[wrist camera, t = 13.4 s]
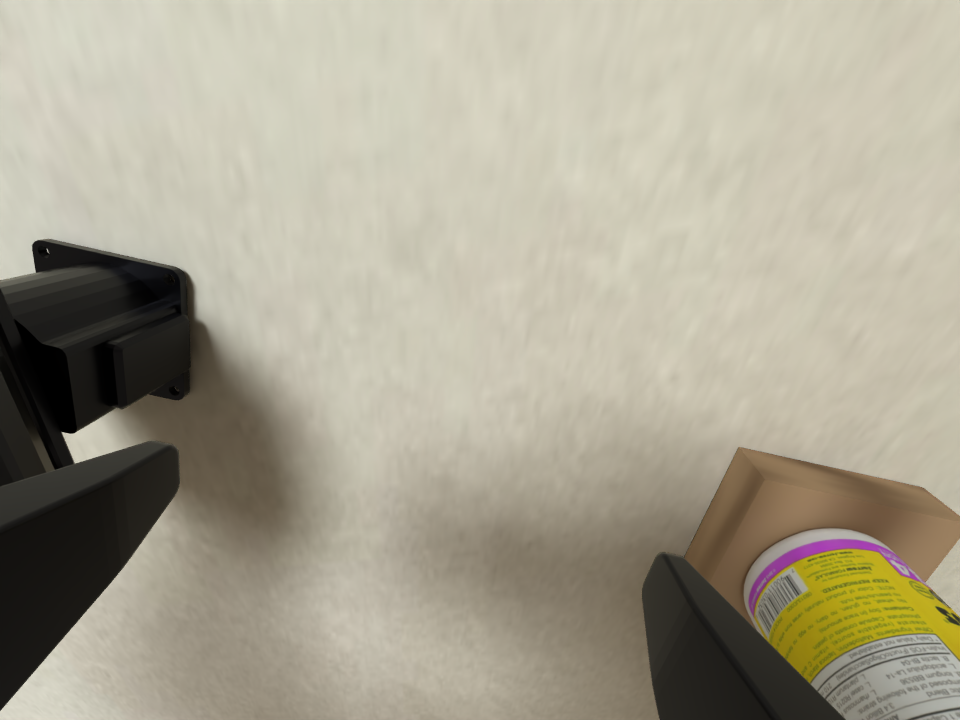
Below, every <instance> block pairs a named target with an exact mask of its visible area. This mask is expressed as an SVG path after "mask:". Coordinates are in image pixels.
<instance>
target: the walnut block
mask: <svg viewBox="0 0 960 720" xmlns="http://www.w3.org/2000/svg"><path fill="white" fill-rule="evenodd" d="M821 528H840V529H848V530H853V531H857V532H860V533H863V534H866V535H868V536H871V537H873V538H875V539H877V540H878V541H880V542H882V543H883V544H885V545H886V546H887V547H888V548H890V549H891V550H892V551H893V552H894V553H895V554H896V555H897V556H898V557H899V558H900V559H901V560H903V561H904V562H905V563H906V564H907V565H908V566H909V567H910V568H911V569H912V570H913V571H914V572H915V573H916V574H917V575H918V576H919V577H920V578H921V579H922V580H923V581H924V582H926V581H927V580H928V578H929V577H930V576H931V574H932V573H933V572H934V571H935V569H936V568H937V567H938V565H939V564H940V563H941V562H942V560H943V559H944V558H945V556H946V555H947V554H948V553H949V551H950V550H951V549H952V547H953V546H954V545H955V544H956V542H957V541H958V540H959V539H960V516H959V515H958V514H956V513H955V512H954V511H952V510H951V509H950V508H949V507H947V506H946V505H945V504H943V503H942V502H941V501H940V500H938V499H937V498H936V497H934V496H933V495H932V494H931V493H929V492H928V491H927V490H926V489H924V488H922V487H918V486H913V485H909V484H904V483H900V482H895V481H890V480H886V479H881V478H877V477H872V476H868V475H863V474H859V473H854V472H850V471H845V470H841V469H836V468H832V467H827V466H822V465H818V464H813V463H809V462H804V461H800V460H795V459H791V458H786V457H782V456H777V455H773V454H768V453H764V452H759V451H754V450H750V449H745V448H741V447H739V448H738V450H737V452H736V454H735V456H734V458H733V460H732V462H731V464H730V466H729V468H728V470H727V472H726V474H725V476H724V478H723V480H722V482H721V484H720V486H719V488H718V490H717V492H716V494H715V496H714V498H713V500H712V502H711V504H710V506H709V508H708V510H707V512H706V514H705V516H704V518H703V520H702V522H701V524H700V526H699V529H698V531H697V533H696V535H695V537H694V539H693V541H692V543H691V545H690V547H689V549H688V551H687V553H686V555H685V557H684V558H685V559H686V560H687V561H688V562H689V563H690V564H691V565H692V566H693V567H694V568H695V569H696V570H697V571H698V572H699V573H700V574H701V575H702V576H703V577H704V578H705V579H706V580H707V581H708V582H709V583H710V584H711V585H712V586H713V587H714V588H715V589H716V590H717V591H718V592H719V593H720V594H721V595H722V596H723V597H724V598H725V599H726V600H727V601H728V602H729V603H730V604H731V605H732V606H733V607H734V608H735V609H736V610H737V611H738V612H739V613H740V614H741V615H742V616H743V617H744V618H745V619H746V620H747V621H748V622H749V623H750V624H751V625H752V626H753V627H754V628H755V626H754V624H753V622H752V620H751V618H750V616H749V614H748V612H747V609H746V606H745V602H744V583H745V580H746V576H747V574H748V572H749V570H750V568H751V566H752V565H753V563H754V562H755V561H756V560H757V558H758V557H759V556H760V555H761V554H762V553H763V552H764V551H766V550H767V549H768V548H770V547H771V546H773V545H774V544H776V543H778V542H779V541H781V540H783V539H785V538H788V537H790V536H793V535H795V534H798V533H801V532H804V531H808V530H813V529H821ZM755 629H756V628H755Z"/></svg>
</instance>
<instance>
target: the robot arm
mask: <svg viewBox="0 0 960 720" xmlns="http://www.w3.org/2000/svg"><path fill="white" fill-rule="evenodd" d="M46 248H47V249H48V250H49V253H50V254H49V253H48V252H47V250H46ZM32 251H33V257H34V263H35V270H36V273H33V274H28V275H24V276H19V277H14V278H10V279H5V280H0V711H1V710H2V708H3V707H4V706H5V705H6V704H7V703H8V701H9V700H10V699H11V698H12V697H13V696H14V694H15V693H16V692H17V691H18V690H19V689H20V688H21V686H22V685H23V684H24V683H25V682H26V681H27V679H28V678H29V677H30V676H31V675H32V674H33V672H34V671H35V670H36V669H37V668H38V667H39V665H40V664H41V663H42V662H43V661H44V660H45V659H46V657H47V656H48V655H49V654H50V653H51V652H52V650H53V649H54V648H55V647H56V646H57V645H58V643H59V642H60V641H61V640H62V639H63V638H64V636H65V635H66V634H67V633H68V632H69V631H70V630H71V628H72V627H73V626H74V625H75V624H76V623H77V621H78V620H79V619H80V618H81V617H82V616H83V614H84V613H85V612H86V611H87V610H88V609H89V607H90V606H91V605H92V604H93V603H94V602H95V601H96V599H97V598H98V597H99V596H100V595H101V594H102V592H103V591H104V590H105V589H106V588H107V587H108V585H109V584H110V583H111V582H112V581H113V580H114V578H115V577H116V576H117V575H118V573H119V572H120V571H121V570H122V569H123V567H124V566H125V565H126V563H127V562H128V561H129V559H130V558H131V557H132V555H133V554H134V552H135V551H136V550H137V548H138V547H139V545H140V544H141V543H142V541H143V540H144V538H145V537H146V536H147V534H148V533H149V531H150V530H151V528H152V527H153V526H154V524H155V523H156V521H157V520H158V519H159V517H160V516H161V514H162V513H163V512H164V510H165V509H166V507H167V506H168V505H169V503H170V502H171V500H172V499H173V497H174V496H175V494H176V493H177V490H178V488H179V484H180V472H179V452H178V449H177V447H176V446H175V445H173V444H168V443H164V442H159V441H148V442H145V443H142V444H138V445H135V446H132V447H129V448H125V449H122V450H119V451H115V452H112V453H109V454H106V455H102V456H99V457H96V458H92V459H89V460H86V461H83V462H79V463H76V464H75V463H74V460H73V458H72V456H71V453H70V451H69V449H68V446H67V444H66V441H65V439H64V437H63V434H62V432H65V433H70V434H72V433H75V432H77V431H79V430H80V429H82V428H84V427H85V426H87V425H89V424H91V423H92V422H94V421H96V420H97V419H99V418H101V417H102V416H104V415H106V414H107V413H109V412H111V411H112V410H114V409H116V408H119V409H124V408H126V407H128V406H129V405H131V404H133V403H134V402H136V401H138V400H139V399H141V398H143V397H144V396H146V395H147V394H150V395H154V396H159V397H163V398H168V399H172V400H180V399H182V398H184V397H185V396H187V395H188V394H189V391H190V379H189V368H190V366H191V365H190V334H189V320H188V318H187V289H186V277H185V275H184V273H183V272H182V271H181V270H180V269H179V268H177V267H174V266H169V265H165V264H160V263H156V262H151V261H147V260H142V259H138V258H133V257H129V256H124V255H120V254H115V253H111V252H106V251H102V250H97V249H93V248H88V247H84V246H79V245H75V244H70V243H66V242H61V241H57V240H52V239H43V240H37V241H35V242H34V243H33V245H32ZM170 275H172V276H173V277H174V280H175V282H174V283H173V282H172V281H171V280H170V277H169V276H170ZM175 387H177V388H178V389H179V391H177V390H176V389H175ZM642 601H643V610H644V619H645V627H646V636H647V645H648V654H649V662H650V671H651V678H652V685H653V690H654V695H655V700H656V705H657V710H658V714H659V719H660V720H846V719H845V718H844V717H843V716H842V715H841V714H840V713H839V712H838V711H837V710H836V709H835V708H834V707H833V706H832V705H831V704H830V703H829V702H828V701H827V700H826V699H825V698H824V697H823V696H822V695H821V694H820V693H819V692H818V691H817V690H816V689H815V688H814V687H813V686H812V685H811V684H810V683H809V682H808V681H807V680H806V679H805V678H804V677H803V676H802V675H801V674H800V673H799V672H798V671H797V670H796V669H795V668H794V667H793V666H792V665H791V664H790V663H789V662H788V661H787V660H786V659H785V658H784V657H783V656H782V655H781V654H780V653H779V652H778V651H777V650H776V649H775V648H774V647H773V646H772V645H771V644H770V643H769V642H768V641H767V640H766V639H765V638H764V637H763V636H762V635H761V634H760V633H759V632H758V631H757V630H756V629H755V628H754V627H753V626H752V625H751V624H750V623H749V622H748V621H747V620H746V619H745V618H744V617H743V616H742V615H741V614H740V613H739V612H738V611H737V610H736V609H735V608H734V607H733V606H732V605H731V604H730V603H729V602H728V601H727V600H726V599H725V598H724V597H723V596H722V595H721V594H720V593H719V592H718V591H717V590H716V589H715V588H714V587H713V586H712V585H711V584H710V583H709V582H708V581H707V580H706V579H705V578H704V577H703V576H702V575H701V574H700V573H699V572H698V571H697V570H696V569H695V568H694V567H693V566H692V565H691V564H690V563H689V562H688V561H687V560H686V559H685V558H684V557H682V556H679V555H675V554H670V553H665V552H661V553H659V554H658V555H657V556H656V558H655V560H654V562H653V564H652V566H651V569H650V571H649V573H648V575H647V577H646V579H645V581H644V584H643V588H642Z"/></svg>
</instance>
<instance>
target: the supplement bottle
mask: <svg viewBox="0 0 960 720" xmlns="http://www.w3.org/2000/svg"><path fill="white" fill-rule="evenodd" d="M744 602H745V606H746V609H747V612H748V614H749V616H750V618H751V620H752V622H753V624H754V626H755V628H756V630H757V631H758V632H759V633H760V634H761V635H762V636H763V637H764V638H765V639H766V640H767V641H768V642H769V643H770V644H771V645H772V646H773V647H774V648H775V649H776V650H777V651H778V652H779V653H780V654H781V655H782V656H783V657H784V658H785V659H786V660H787V661H788V662H789V663H790V664H791V665H792V666H793V667H794V668H795V669H796V670H797V671H798V672H799V673H800V674H801V675H802V676H803V677H804V678H805V679H806V680H807V681H808V682H809V683H810V684H811V685H812V686H813V687H814V688H815V689H816V690H817V691H818V692H819V693H820V694H821V695H822V696H823V697H824V698H825V699H826V700H827V701H828V702H829V703H830V704H831V705H832V706H833V707H834V708H835V709H836V710H837V711H838V712H839V713H840V714H841V715H842V716H843V717H844V718H845V719H846V720H960V617H959V616H958V615H957V614H956V613H955V612H954V611H953V610H952V609H951V608H950V607H949V606H948V605H947V604H946V603H945V602H944V601H943V600H942V599H941V598H940V597H939V596H938V595H937V594H936V593H935V592H934V591H933V590H932V589H931V588H930V587H929V586H928V585H927V584H926V583H925V582H924V581H923V580H922V579H921V578H920V577H919V576H918V575H917V574H916V573H915V572H914V571H913V570H912V569H911V568H910V567H909V566H908V565H907V564H906V563H905V562H904V561H903V560H901V559H900V558H899V557H898V556H897V555H896V554H895V553H894V552H893V551H892V550H891V549H890V548H888V547H887V546H886V545H885V544H883V543H882V542H880V541H878V540H877V539H875V538H873V537H871V536H868V535H866V534H863V533H860V532H857V531H853V530H848V529H840V528H821V529H813V530H808V531H804V532H801V533H798V534H795V535H793V536H790V537H788V538H785V539H783V540H781V541H779V542H778V543H776V544H774V545H773V546H771V547H770V548H768V549H767V550H766V551H764V552H763V553H762V554H761V555H760V556H759V557H758V558H757V560H756V561H755V562H754V563H753V565H752V566H751V568H750V570H749V572H748V574H747V576H746V580H745V583H744Z"/></svg>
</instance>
